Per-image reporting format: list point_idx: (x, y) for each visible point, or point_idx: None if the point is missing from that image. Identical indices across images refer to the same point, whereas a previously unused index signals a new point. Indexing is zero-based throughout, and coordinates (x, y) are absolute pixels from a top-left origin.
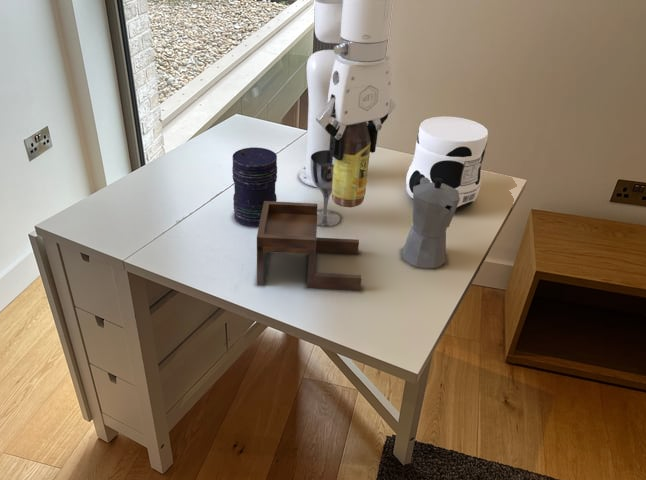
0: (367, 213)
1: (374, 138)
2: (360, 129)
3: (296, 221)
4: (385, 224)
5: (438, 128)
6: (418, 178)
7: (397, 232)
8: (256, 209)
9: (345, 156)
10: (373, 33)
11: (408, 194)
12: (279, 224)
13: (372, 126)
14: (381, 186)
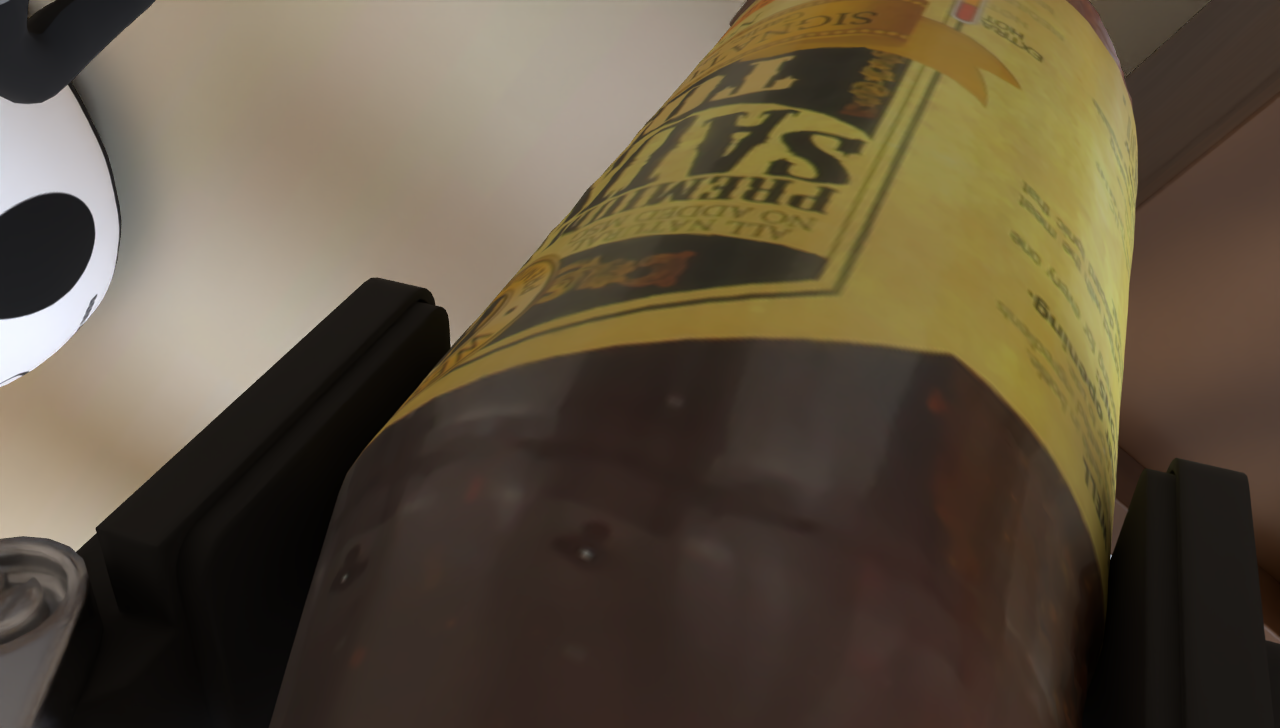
0: (424, 283)
1: (258, 448)
2: None
3: (1225, 370)
4: (394, 127)
5: None
6: (3, 44)
7: (376, 8)
8: None
9: (1086, 468)
10: None
11: (117, 253)
12: None
13: (116, 719)
14: (208, 420)
